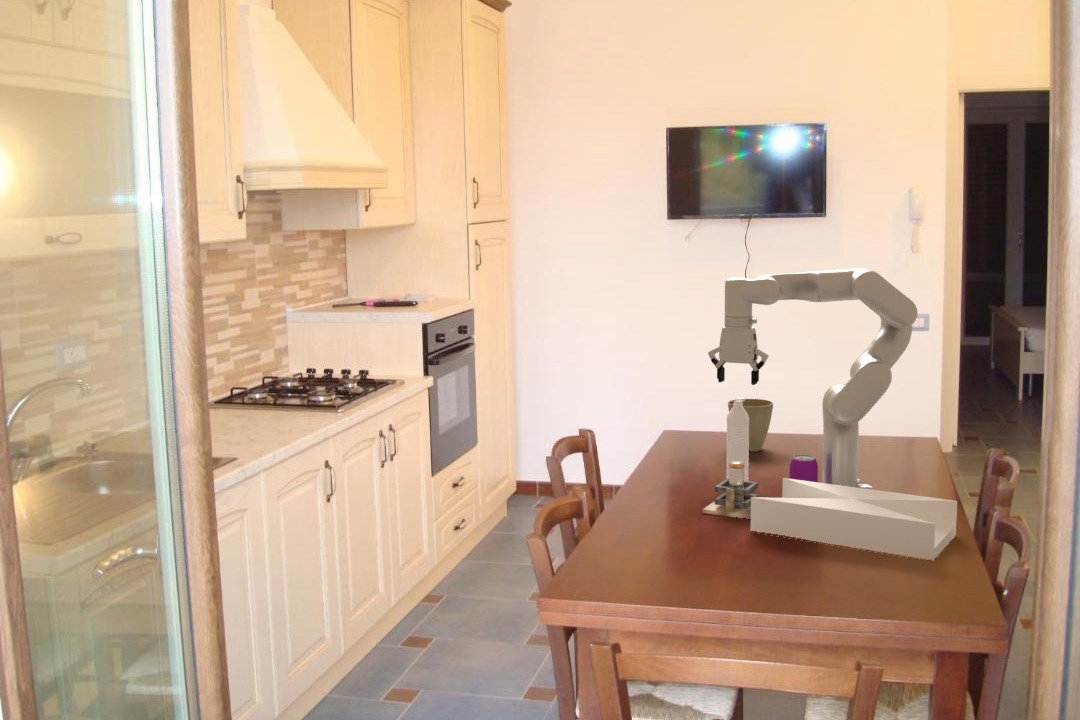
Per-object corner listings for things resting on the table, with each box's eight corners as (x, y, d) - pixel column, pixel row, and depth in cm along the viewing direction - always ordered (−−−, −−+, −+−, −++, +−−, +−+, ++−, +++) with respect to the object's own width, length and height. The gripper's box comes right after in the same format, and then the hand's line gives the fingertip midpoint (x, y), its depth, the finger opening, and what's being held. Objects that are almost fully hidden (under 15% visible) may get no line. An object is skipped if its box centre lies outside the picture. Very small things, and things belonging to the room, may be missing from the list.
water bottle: (746, 487, 316) (747, 403, 312) (724, 485, 318) (725, 402, 314) (751, 479, 324) (752, 397, 321) (729, 478, 326) (729, 396, 323)
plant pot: (779, 447, 365) (779, 400, 362) (763, 456, 352) (763, 408, 350) (737, 442, 373) (737, 396, 370) (720, 451, 360) (720, 404, 358)
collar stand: (769, 506, 297) (770, 481, 296) (752, 519, 285) (752, 494, 284) (721, 499, 304) (721, 475, 303) (702, 512, 292) (702, 487, 291)
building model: (750, 533, 275) (750, 497, 274) (782, 511, 294) (782, 477, 292) (933, 563, 251) (935, 523, 250) (955, 537, 269) (957, 500, 268)
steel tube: (746, 504, 295) (746, 461, 293) (741, 508, 292) (741, 465, 290) (731, 502, 297) (731, 460, 295) (726, 506, 294) (726, 463, 292)
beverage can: (785, 500, 302) (786, 458, 300) (793, 493, 309) (793, 452, 307) (813, 504, 298) (814, 461, 297) (820, 496, 305) (821, 455, 303)
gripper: (772, 322, 300) (771, 383, 303) (713, 319, 309) (713, 378, 312) (763, 325, 294) (763, 387, 297) (704, 322, 303) (703, 382, 305)
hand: (737, 382), depth 304 cm, fingers open, 9 cm apart
